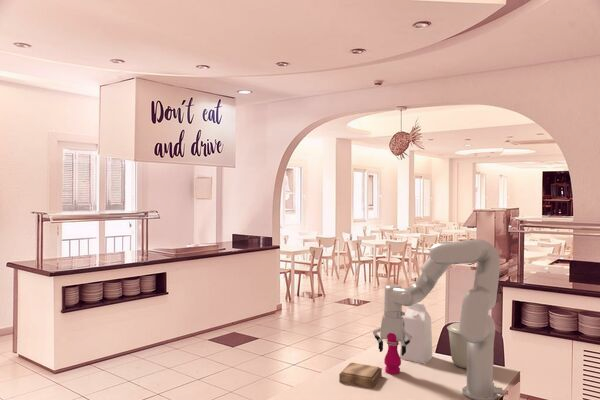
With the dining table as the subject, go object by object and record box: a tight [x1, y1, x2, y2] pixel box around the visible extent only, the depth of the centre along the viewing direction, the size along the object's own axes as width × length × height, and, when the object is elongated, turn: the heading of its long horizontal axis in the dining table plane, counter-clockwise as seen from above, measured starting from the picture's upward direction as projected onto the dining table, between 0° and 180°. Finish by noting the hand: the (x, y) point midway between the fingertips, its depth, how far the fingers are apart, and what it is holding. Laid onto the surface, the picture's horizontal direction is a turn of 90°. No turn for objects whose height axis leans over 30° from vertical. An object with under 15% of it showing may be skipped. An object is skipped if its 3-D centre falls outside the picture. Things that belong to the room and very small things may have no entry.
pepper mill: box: [383, 333, 402, 375], centre depth 203 cm, size 7×7×20 cm
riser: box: [338, 362, 383, 389], centre depth 195 cm, size 14×14×4 cm
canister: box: [446, 322, 467, 370], centre depth 212 cm, size 18×18×21 cm
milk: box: [399, 302, 433, 365], centre depth 222 cm, size 12×12×26 cm
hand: (392, 352), depth 203 cm, fingers open, 9 cm apart
